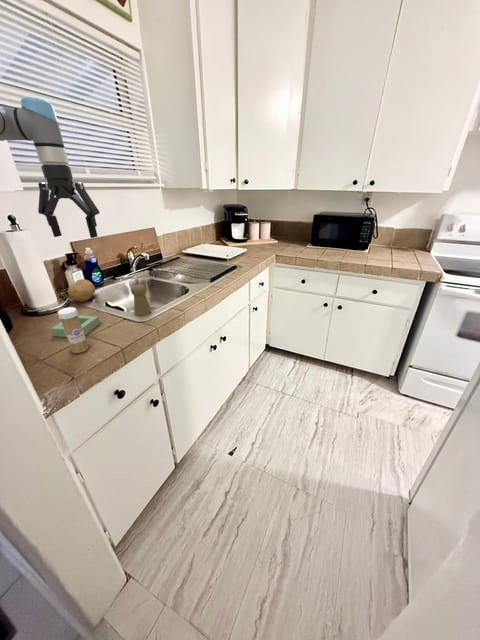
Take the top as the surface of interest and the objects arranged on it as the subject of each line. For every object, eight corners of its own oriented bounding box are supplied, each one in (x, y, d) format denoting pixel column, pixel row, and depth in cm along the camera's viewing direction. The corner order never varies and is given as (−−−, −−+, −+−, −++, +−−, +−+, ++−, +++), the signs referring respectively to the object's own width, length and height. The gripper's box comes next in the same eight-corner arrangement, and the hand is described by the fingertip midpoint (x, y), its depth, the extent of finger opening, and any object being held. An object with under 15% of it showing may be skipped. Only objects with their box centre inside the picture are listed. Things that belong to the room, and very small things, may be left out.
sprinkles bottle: (78, 355, 77) (64, 314, 70) (68, 351, 78) (53, 311, 72) (92, 347, 80) (79, 308, 74) (82, 344, 82) (69, 305, 76)
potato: (66, 307, 106) (60, 289, 102) (76, 295, 118) (71, 278, 114) (92, 305, 108) (87, 287, 104) (99, 293, 120) (95, 276, 116)
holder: (54, 336, 86) (51, 328, 85) (75, 322, 95) (72, 314, 94) (81, 338, 85) (79, 330, 84) (100, 323, 94) (98, 316, 92)
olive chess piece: (134, 310, 103) (128, 284, 98) (150, 307, 106) (145, 282, 100) (135, 316, 99) (129, 289, 93) (151, 314, 101) (147, 287, 95)
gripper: (100, 165, 81) (115, 235, 91) (29, 165, 84) (51, 233, 94) (84, 163, 74) (103, 239, 84) (7, 164, 77) (34, 237, 87)
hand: (76, 236), depth 89 cm, fingers open, 13 cm apart
